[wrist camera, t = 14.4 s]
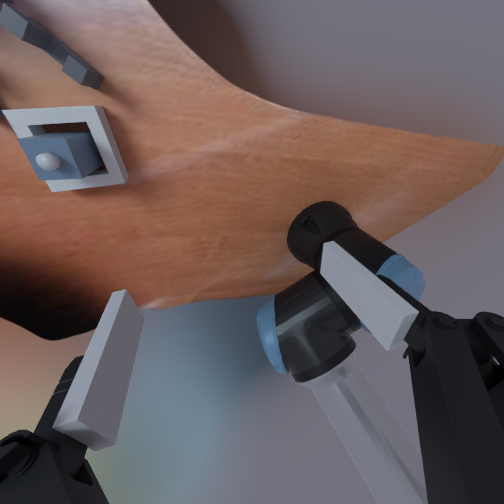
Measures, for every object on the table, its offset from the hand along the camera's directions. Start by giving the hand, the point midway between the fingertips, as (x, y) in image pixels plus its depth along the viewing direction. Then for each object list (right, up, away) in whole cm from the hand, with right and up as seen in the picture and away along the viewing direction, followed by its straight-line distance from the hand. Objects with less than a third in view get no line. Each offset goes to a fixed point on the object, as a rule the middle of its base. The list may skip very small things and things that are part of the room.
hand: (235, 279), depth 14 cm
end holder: (-22, +16, +14) cm, 31 cm away
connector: (-22, +16, +14) cm, 31 cm away
